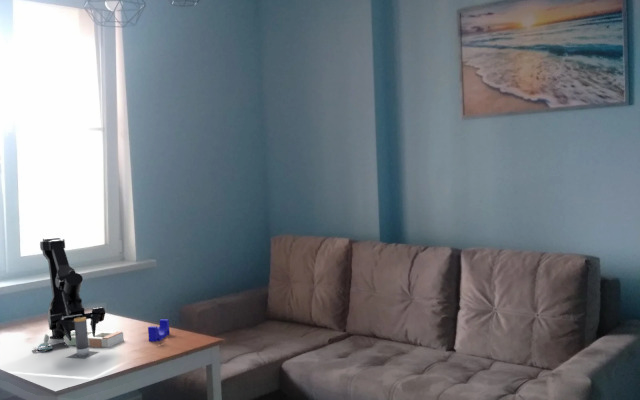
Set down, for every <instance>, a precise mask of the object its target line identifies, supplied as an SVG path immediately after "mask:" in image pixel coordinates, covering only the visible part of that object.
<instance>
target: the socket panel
mask: <svg viewBox="0 0 640 400" xmlns="http://www.w3.org/2000/svg"><path fill="white" fill-rule="evenodd" d="M70 334H71V339H72V340H71V341H70V340H69V339H68V338H67V336H66V335H65V336H64V338H63V343H64V342H65V343H66V344H67V345H68V346H76V337H75V331H72V332H71V333H70ZM87 335H88V347H95V348H97V347H98V348H101V347H102V348H109V347H110V348H111V346H114V345H116V344H119V343H121V342H123V341H124V338H125V337H124V332H123V331H101V330H95V336H94V337H93V334H92V330H87ZM66 344H65V345H66ZM67 345H66V346H67Z"/></svg>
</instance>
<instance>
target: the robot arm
mask: <svg viewBox="0 0 640 400" xmlns="http://www.w3.org/2000/svg"><path fill="white" fill-rule="evenodd" d="M65 241H66V240H65V238H64V239H63V238H61V237H60V236H55V237H45V238H42V241H40V243H39V246H40V248H39V249H40V251H42V256H43V258H45V259H46V260H47V264H48V269H49V270H48V271H49V277H50V278H49V279H50V285H51V295H52V297H51V300H50V302H49V306H48V307H49V308H48V310H47V317H46V318H47V322H48V329H49V330H50V331H51V335H49V339H60V340H61V339H62V340H64V336H65V335H66V336H67V338H68V339H69V340H70V341H71V340H72V339H71V334H70V333H72V332H73V331H75V325H74V318H78V317H86V320H89V319H90V323H89V325H90V326H91V331H92V334H93V337H94V336H95V331H97V330H96V328H97V324H99V323H101V322H102V321H104V319H105V315H106V310H105V308H104V307H103V306H101V307H93V308H92V310H91V312H87V313H85V308H84V305H83V303H82V302H83V300H82V298H81V295H80V292H81V289H82V285H83V279H84V278H83V276H82V274H80V273H78V272H76V270H75V269H74V268H73V267H71V265H70V263H69V260H68V257H67V253H66V250H65V249H66V242H65Z"/></svg>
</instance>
